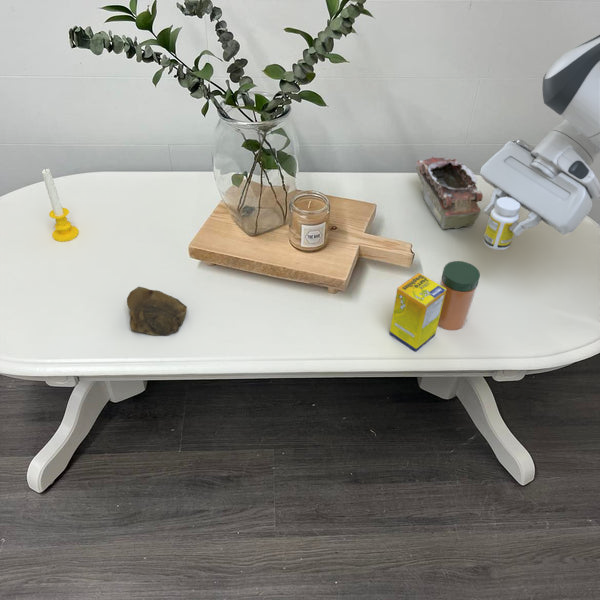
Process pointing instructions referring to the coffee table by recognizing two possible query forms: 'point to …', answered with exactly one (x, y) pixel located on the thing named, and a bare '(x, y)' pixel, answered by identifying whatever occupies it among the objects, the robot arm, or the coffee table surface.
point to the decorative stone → (154, 312)
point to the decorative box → (449, 191)
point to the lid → (460, 276)
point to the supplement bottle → (501, 223)
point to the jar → (455, 308)
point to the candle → (58, 212)
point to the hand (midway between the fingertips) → (500, 223)
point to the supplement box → (417, 311)
